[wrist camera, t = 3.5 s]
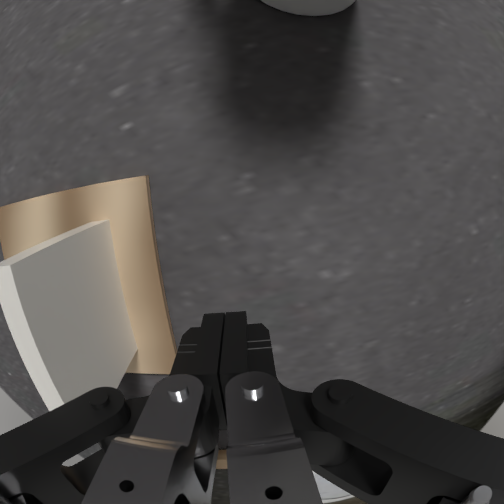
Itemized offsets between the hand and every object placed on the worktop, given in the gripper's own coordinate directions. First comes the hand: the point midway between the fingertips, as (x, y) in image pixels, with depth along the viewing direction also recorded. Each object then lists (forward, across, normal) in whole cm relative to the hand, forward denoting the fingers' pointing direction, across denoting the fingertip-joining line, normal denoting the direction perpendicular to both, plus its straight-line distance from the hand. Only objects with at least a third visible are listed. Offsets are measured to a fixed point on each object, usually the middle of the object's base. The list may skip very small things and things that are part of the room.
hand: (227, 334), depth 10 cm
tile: (+5, +7, 0) cm, 9 cm away
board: (+6, +10, 0) cm, 11 cm away
